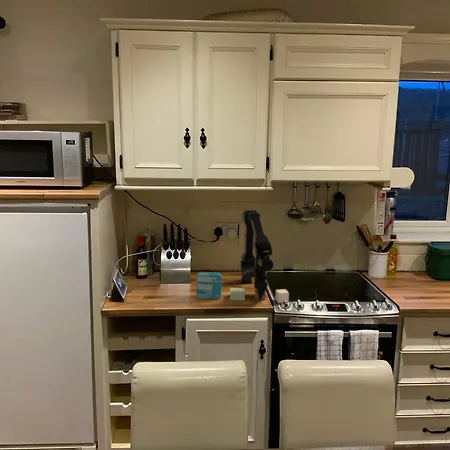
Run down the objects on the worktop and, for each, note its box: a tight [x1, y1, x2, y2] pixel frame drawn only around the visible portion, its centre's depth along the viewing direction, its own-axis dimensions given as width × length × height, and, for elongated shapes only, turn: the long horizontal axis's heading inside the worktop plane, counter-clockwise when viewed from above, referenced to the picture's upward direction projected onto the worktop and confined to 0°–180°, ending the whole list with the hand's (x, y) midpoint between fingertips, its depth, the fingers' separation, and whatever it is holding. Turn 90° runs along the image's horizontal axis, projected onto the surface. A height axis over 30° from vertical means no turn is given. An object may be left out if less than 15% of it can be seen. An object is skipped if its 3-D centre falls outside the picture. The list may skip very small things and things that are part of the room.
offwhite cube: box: [274, 288, 290, 304], centre depth 225 cm, size 5×5×5 cm
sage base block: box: [229, 287, 246, 301], centre depth 228 cm, size 7×7×4 cm
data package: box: [195, 271, 222, 300], centre depth 227 cm, size 12×4×12 cm, turn 89°
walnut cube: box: [254, 287, 266, 301], centre depth 228 cm, size 5×5×5 cm
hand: (259, 295), depth 228 cm, fingers open, 9 cm apart
